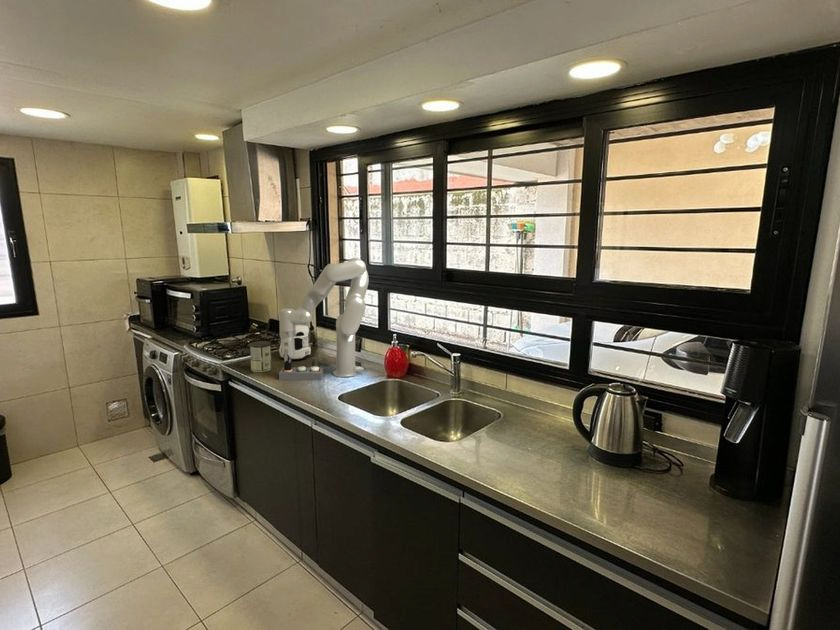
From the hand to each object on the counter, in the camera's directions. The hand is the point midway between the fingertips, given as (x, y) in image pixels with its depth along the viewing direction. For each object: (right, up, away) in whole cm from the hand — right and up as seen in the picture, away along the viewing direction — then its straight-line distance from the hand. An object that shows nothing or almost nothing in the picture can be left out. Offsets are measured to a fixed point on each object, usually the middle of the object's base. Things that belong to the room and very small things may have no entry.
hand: (288, 369), depth 215 cm
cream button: (+13, -1, +2) cm, 13 cm away
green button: (+7, -1, +1) cm, 7 cm away
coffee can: (-18, -1, +11) cm, 21 cm away
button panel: (+6, -4, +1) cm, 8 cm away
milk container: (-6, +2, +35) cm, 35 cm away
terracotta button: (0, -2, 0) cm, 2 cm away
